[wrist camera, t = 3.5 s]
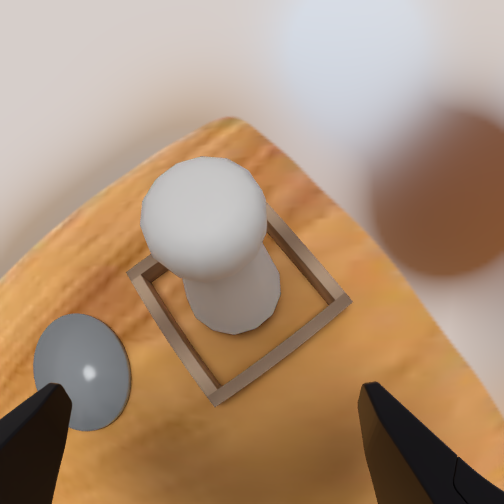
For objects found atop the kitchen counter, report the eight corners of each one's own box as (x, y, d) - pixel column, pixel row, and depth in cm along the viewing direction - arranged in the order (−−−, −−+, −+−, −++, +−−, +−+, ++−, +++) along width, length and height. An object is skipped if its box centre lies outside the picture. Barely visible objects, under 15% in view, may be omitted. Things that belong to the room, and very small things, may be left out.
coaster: (116, 449, 18) (113, 450, 18) (29, 399, 19) (25, 399, 19) (145, 336, 21) (141, 335, 20) (53, 300, 22) (49, 299, 22)
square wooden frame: (345, 307, 21) (353, 301, 19) (219, 403, 19) (214, 407, 17) (252, 198, 24) (250, 184, 22) (137, 280, 23) (126, 272, 21)
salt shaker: (259, 351, 20) (243, 327, 8) (181, 317, 21) (80, 250, 9) (291, 272, 22) (315, 155, 10) (217, 243, 23) (166, 115, 11)
